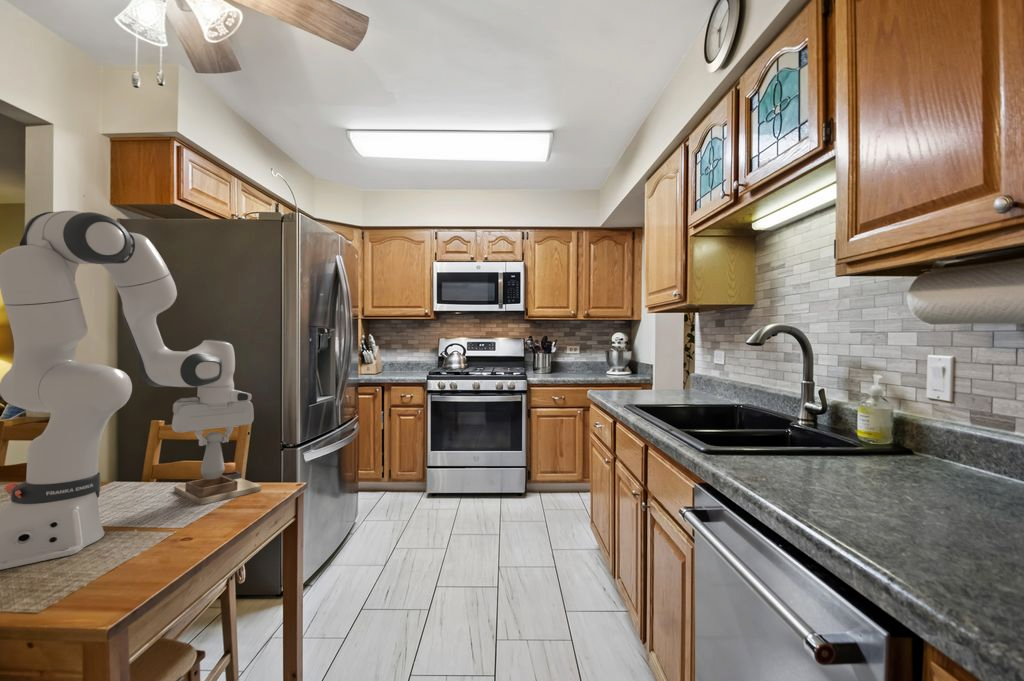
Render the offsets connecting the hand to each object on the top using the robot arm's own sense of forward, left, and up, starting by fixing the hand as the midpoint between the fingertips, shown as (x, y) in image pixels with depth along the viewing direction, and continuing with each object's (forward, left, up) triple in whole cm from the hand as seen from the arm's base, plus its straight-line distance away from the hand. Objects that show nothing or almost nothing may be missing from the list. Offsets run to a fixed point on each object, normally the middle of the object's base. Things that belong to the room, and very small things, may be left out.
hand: (214, 443), depth 130 cm
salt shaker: (0, 0, -10) cm, 10 cm away
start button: (+8, +9, -11) cm, 17 cm away
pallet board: (+3, +3, -15) cm, 16 cm away
